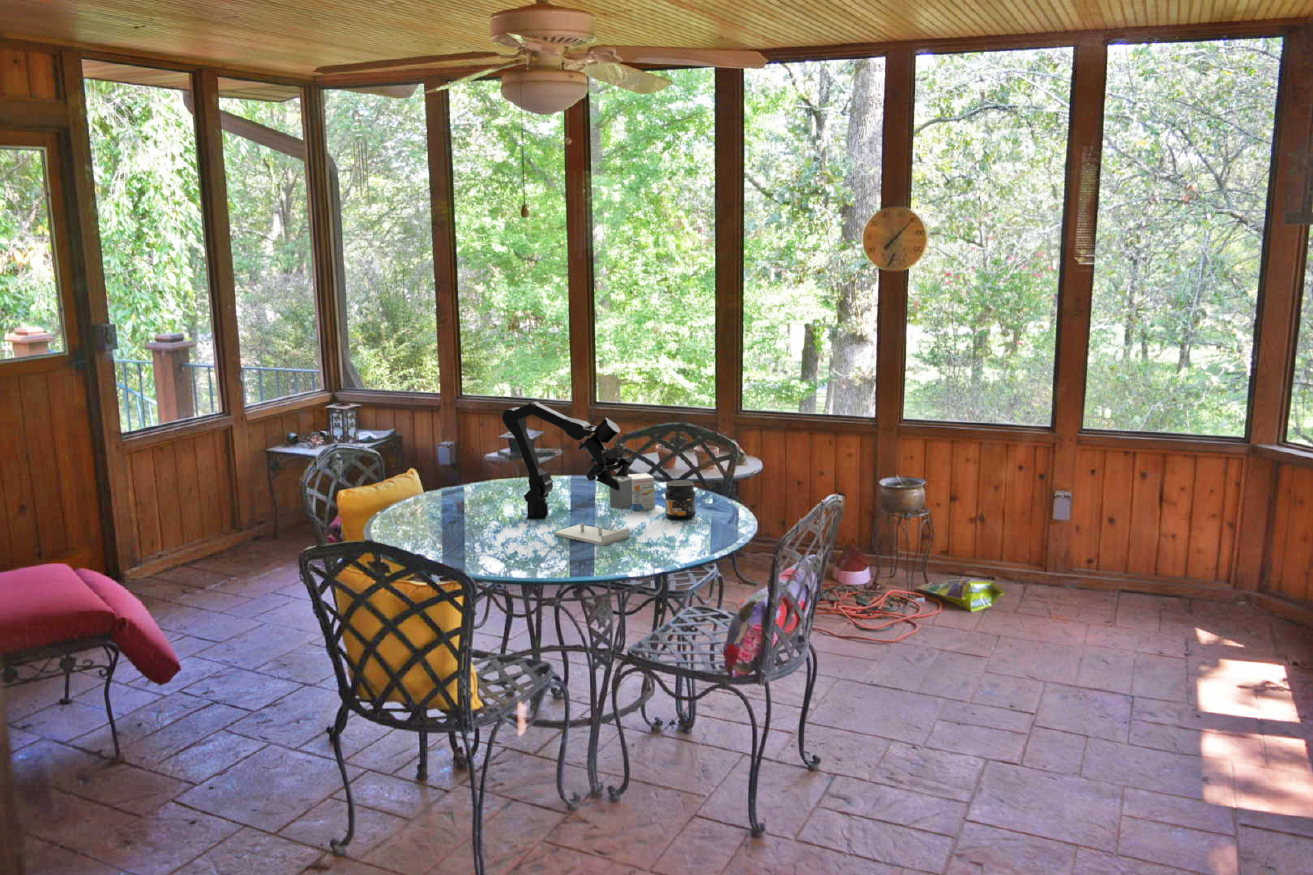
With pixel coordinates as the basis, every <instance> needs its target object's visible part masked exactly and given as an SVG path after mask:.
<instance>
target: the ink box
mask: <svg viewBox="0 0 1313 875" xmlns="http://www.w3.org/2000/svg"><path fill="white" fill-rule="evenodd" d="M628 477H632V507H629V508H628V509H629V510H631V511H633V512H636V511H643V509H645V510H652V509H656V498H655V489H656V488H655V477H654V476H653V475H651V474H650V473H648V472H645V473H643V472H642V473H631V474H628Z"/></svg>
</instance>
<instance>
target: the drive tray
mask: <svg viewBox="0 0 1313 875" xmlns="http://www.w3.org/2000/svg"><path fill="white" fill-rule="evenodd" d="M553 535H554V536H556V535H559V536H558V537H561V536H562V538H568V539H571V540H575V539H576V540H577V541H581V542H584V543H585V542H586V543H591V544H595V545H599V546H603V547H604V546H607V545H608V546H609V545H611V544H614V543H616V542H619V541H623V540H625V539H628V538H630V528H629V527H625V528H621V529H618V530H615V531H614V530H608V529H604V528H603V526H598V527H594V526H589V525H585V523H580V524H576V525H573V526H569V527H567V528H563V529H559V530H556V531H554V532H553Z"/></svg>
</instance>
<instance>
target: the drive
mask: <svg viewBox="0 0 1313 875" xmlns="http://www.w3.org/2000/svg"><path fill="white" fill-rule="evenodd" d="M612 477H613V479H614V480H615V482H616V483H617V485H618V487H619V490H618V491H617V490H615V489H613V488H611V487H609V508H610V509H615V510H620V511H621V510H625V509H629V507H632V477H627V476H621V475H620V476H612Z"/></svg>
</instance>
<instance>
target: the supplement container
mask: <svg viewBox="0 0 1313 875" xmlns="http://www.w3.org/2000/svg"><path fill="white" fill-rule="evenodd" d="M665 486H666V487H665V488H666V490H665V492H664V496H665V500H664V501H665V503H664V504H665V512H664V514H665V516H666V517H667V518H668V519H670V520H674V519H675V520H676V521H684V520H685V519H686V520H690V519H692V518H694V517H695V516H696V515H697V513H696V491H695V490H694V489H695V483H694V481H691V480H685V479H678V480H677V479H675V480H670V481H666V485H665ZM686 520H685V521H686Z"/></svg>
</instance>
